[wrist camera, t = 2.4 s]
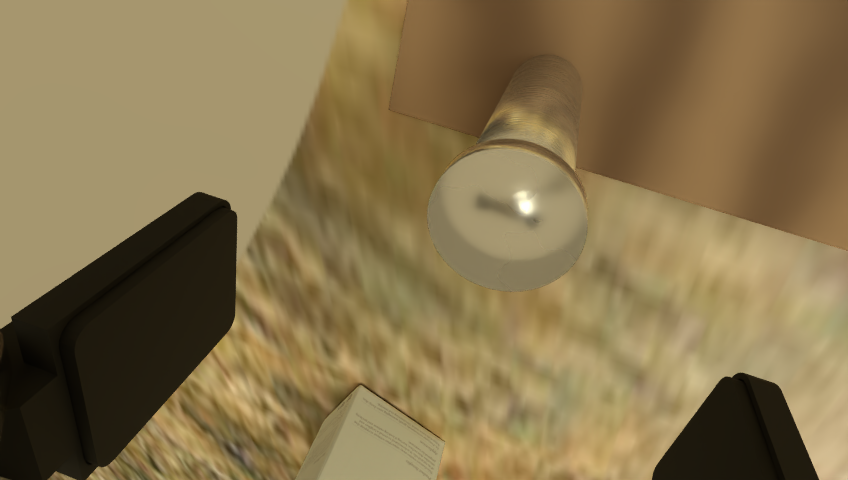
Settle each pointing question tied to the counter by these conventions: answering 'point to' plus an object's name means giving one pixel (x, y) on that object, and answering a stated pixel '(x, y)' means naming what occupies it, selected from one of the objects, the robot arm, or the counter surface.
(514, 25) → the hinge board
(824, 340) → the counter surface
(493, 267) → the hinge pin
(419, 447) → the skincare box
